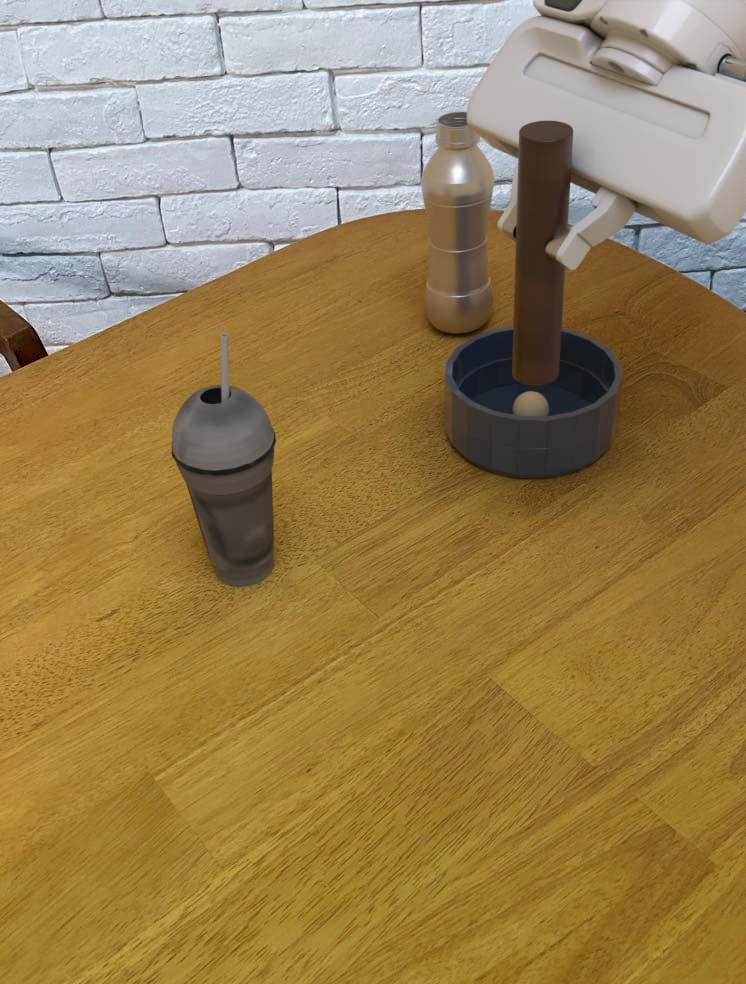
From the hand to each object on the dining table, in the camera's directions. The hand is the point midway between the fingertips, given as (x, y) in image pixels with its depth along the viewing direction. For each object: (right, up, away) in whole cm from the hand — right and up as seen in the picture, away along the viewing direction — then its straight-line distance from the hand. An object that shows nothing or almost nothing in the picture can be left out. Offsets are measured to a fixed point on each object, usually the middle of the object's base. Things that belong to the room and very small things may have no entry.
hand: (533, 249), depth 67 cm
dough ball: (+4, -6, +27) cm, 28 cm away
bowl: (+5, -8, +29) cm, 30 cm away
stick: (+1, -7, +6) cm, 9 cm away
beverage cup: (-19, -19, +18) cm, 32 cm away
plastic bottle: (0, +3, +42) cm, 43 cm away
